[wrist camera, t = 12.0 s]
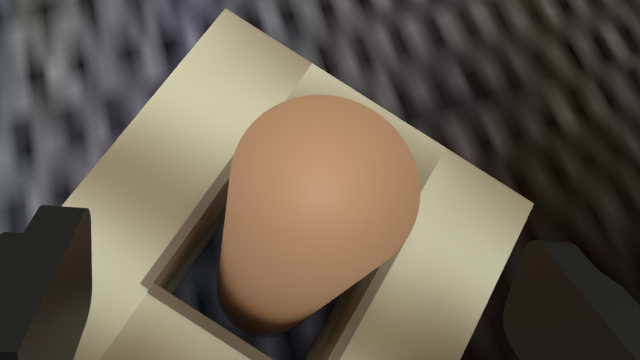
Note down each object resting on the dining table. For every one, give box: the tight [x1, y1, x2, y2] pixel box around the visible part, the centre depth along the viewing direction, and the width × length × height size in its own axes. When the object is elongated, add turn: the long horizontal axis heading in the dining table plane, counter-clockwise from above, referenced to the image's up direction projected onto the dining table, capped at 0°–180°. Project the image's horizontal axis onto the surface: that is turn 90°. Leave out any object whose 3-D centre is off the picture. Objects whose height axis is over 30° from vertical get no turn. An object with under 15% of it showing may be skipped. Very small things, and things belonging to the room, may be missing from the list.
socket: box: [62, 9, 534, 360], centre depth 20 cm, size 12×12×5 cm
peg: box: [217, 95, 421, 336], centre depth 17 cm, size 4×4×12 cm
